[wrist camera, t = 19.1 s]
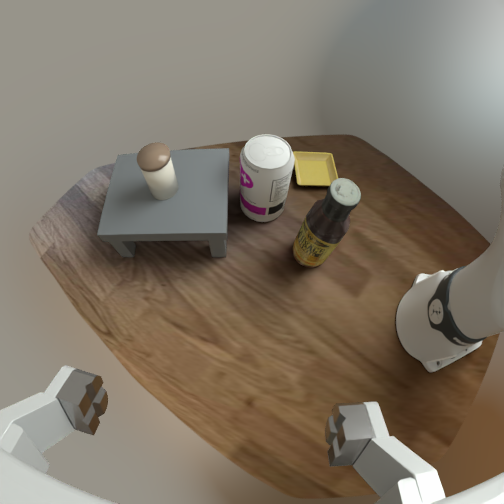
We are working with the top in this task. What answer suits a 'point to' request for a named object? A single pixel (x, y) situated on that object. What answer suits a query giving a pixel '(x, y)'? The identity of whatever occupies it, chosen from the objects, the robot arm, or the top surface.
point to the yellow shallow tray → (314, 168)
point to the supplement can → (265, 177)
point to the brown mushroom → (158, 170)
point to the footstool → (169, 203)
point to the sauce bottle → (326, 223)
